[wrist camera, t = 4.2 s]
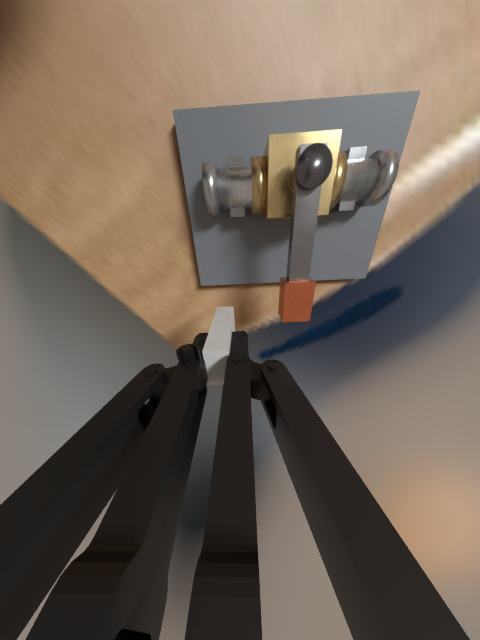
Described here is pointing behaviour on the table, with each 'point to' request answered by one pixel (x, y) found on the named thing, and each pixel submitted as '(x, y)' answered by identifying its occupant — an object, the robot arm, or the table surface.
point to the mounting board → (273, 235)
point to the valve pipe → (275, 178)
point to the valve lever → (303, 230)
